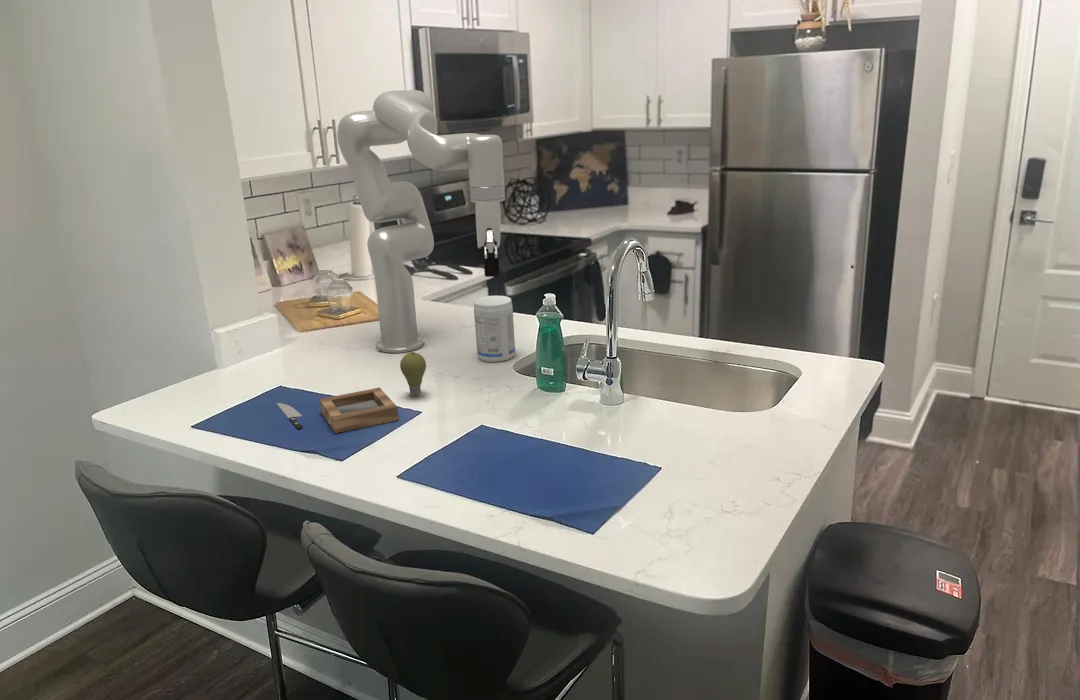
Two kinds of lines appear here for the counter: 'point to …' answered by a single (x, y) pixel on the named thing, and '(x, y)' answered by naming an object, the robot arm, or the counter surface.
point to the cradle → (358, 410)
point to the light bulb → (413, 371)
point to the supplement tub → (494, 328)
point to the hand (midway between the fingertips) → (492, 271)
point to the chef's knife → (291, 414)
